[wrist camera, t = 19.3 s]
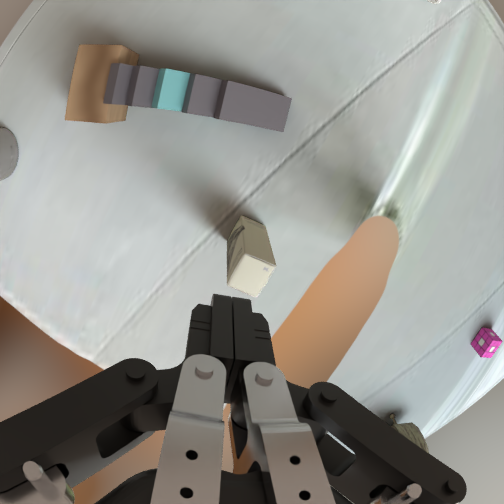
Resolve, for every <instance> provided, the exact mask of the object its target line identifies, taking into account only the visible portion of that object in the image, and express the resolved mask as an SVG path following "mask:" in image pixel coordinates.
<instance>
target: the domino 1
mask: <svg viewBox="0 0 504 504" xmlns="http://www.w3.org/2000/svg"><path fill="white" fill-rule="evenodd" d="M132 69H133V66H132V65H127V64H122V63H111V67H110V71H109V76H108V81H107V85H106V90H105V96H104V101H103V103H104V104H116V105H125V102H126V97H127V92H128V87H129V83H130V78H131V74H132Z"/></svg>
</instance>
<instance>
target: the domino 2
mask: <svg viewBox="0 0 504 504" xmlns="http://www.w3.org/2000/svg"><path fill="white" fill-rule="evenodd" d="M159 70H160V69H157V68H152V67H147V66H141V65H138V66H133V69H132V74H131V78H130V83H129V87H128V92H127V97H126V102H125V105H128V106H138V107H148V108H152V102H153V97H154V93H155V88H156V83H157V79H158V74H159Z"/></svg>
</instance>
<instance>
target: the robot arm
mask: <svg viewBox="0 0 504 504" xmlns="http://www.w3.org/2000/svg"><path fill="white" fill-rule="evenodd" d="M17 161H18V145H17V142H16V139H15V137H14V135H13V134H12V133H11V131H9V130H8V129H6V128H0V181H1V180H3V179H5V178H7V177H9V176H10V175H11V174H12V173H13V171H14V169H15V167H16V165H17ZM269 332H270V331H269V325H268V322H267V320H266V319H265V318H264V316H263V315H262V314H260V313H253V312H252V306H251V300H250V299H243V298H237V297H232V298H231V297H230V296H224V295H218V294H213V296H212V301H211V306H209V305H203V304H198V305H197V306H196V307H195V308H194V309H193V310H192V314H191V320H190V327H189V333H188V340H187V347H186V355H185V359H184V361H183V362H182V363H181V364H180V365H178V366H177V367H174V368H171V369H165V370H156V368H155V367H154V366H153V365H152V364H151V363H149V362H147V361H145V360H143V359H138V358H130V359H125V360H123V361H121V362H119V363H117V364H115V365H113V366H111V367H109V368H107V369H105V370H104V371H102V372H100V373H98V374H96V375H94V376H92V377H90V378H88V379H86V380H84V381H82V382H80V383H79V384H77V385H75V386H73V387H71V388H69V389H67V390H65V391H63V392H61V393H59V394H57V395H55V396H53V397H51V398H49V399H47V400H45V401H43V402H41V403H39V404H37V405H35V406H33V407H31V408H29V409H27V410H25V411H23V412H21V413H19V414H17V415H14V416H12V417H11V418H8V419H6V420H4V421H2V422H0V504H74V500H75V498H74V493H73V490H72V488H73V487H74V486H76V485H78V484H79V483H81V482H82V481H84V480H86V479H87V478H89V477H90V476H92V475H94V474H95V473H96V472H98V471H100V470H101V469H103V468H104V467H106V466H107V465H109V464H110V463H112V462H113V461H115V460H116V459H118V458H119V457H121V456H122V455H124V454H125V453H127V452H128V451H130V450H131V449H133V448H134V447H135V446H137V445H138V444H140V443H141V442H142V441H144V440H145V439H147V438H148V437H150V436H151V435H152V434H153V433H154V432H155V431H158V430H166V432H165V436H164V441H163V445H162V450H161V454H160V459H159V464H158V468H156V469H150V470H147V471H143V472H141V473H138V474H136V475H134V476H132V477H130V478H128V479H127V480H126V481H124V482H123V483H122V484H120V485H119V486H118V487H117V488H115V489H114V490H112V491H111V492H110V493H108V494H107V495H106V496H104V497H103V498H102V499H100V500H99V501H98V502H96V503H95V504H353V503H354V504H458V503H459V502H461V501H462V500H463V499H464V497H465V495H466V483H465V481H464V479H463V478H462V476H461V475H459V474H458V473H457V472H455V471H454V470H452V469H451V468H449V467H448V466H446V465H445V464H443V463H442V462H440V461H439V460H438V459H436V458H435V457H433V456H432V455H430V454H429V453H427V452H426V451H425V450H423V449H422V448H420V447H419V446H417V445H416V444H415V443H413V442H412V441H410V440H409V439H408V438H406V437H405V436H403V435H402V434H401V433H399V432H398V431H396V430H395V429H394V428H392V427H391V426H390V425H388V424H387V423H386V422H384V421H383V420H381V419H380V418H379V417H377V416H376V415H375V414H373V413H372V412H371V411H369V410H368V409H367V408H365V407H364V406H363V405H361V404H360V403H359V402H357V401H356V400H355V399H354V398H352V397H351V396H350V395H348V394H347V393H346V392H344V391H343V390H342V389H341V388H339V387H338V386H336V385H334V384H332V383H328V382H318V383H315V384H313V385H312V386H311V387H310V389H307V388H304V387H301V386H298V385H295V384H292V383H290V382H288V381H287V380H286V379H285V376H284V374H283V373H282V371H281V370H280V369H278V368H277V367H276V364H275V358H274V353H273V347H272V342H271V336H270V333H269ZM224 403H230V404H231V412H230V415H229V418H228V426H229V433H230V441H231V448H232V456H233V473H230V472H227V471H223V470H221V467H222V452H223V438H224V421H222V417H223V405H224ZM328 431H329V432H330V433H331V434H332V435H334V436H335V437H336V438H337V439H339V440H340V441H341V442H342V443H344V444H345V445H346V446H347V447H349V448H350V449H351V450H352V451H353V452H354V453H355V454H353V453H351V452H350V451H348V450H347V449H346V448H345V447H343V446H342V445H341V444H339V443H338V442H337V441H336V440H335V439H333V438H332V437H331V436H330V435H328V434H327V433H328ZM329 484H330V485H331V486H333V487H334V488H335V489H334V488H333V487H331V486H330V485H329ZM337 490H338V491H339V492H340V493H339V492H338V491H337ZM342 494H343V495H344V496H346V498H348V499H349V500H350V501H352V502H353V503H351V502H350V501H349V500H348V499H346V498H345V497H344V496H343V495H342Z"/></svg>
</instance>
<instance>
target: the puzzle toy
mask: <svg viewBox="0 0 504 504" xmlns="http://www.w3.org/2000/svg"><path fill="white" fill-rule="evenodd" d="M501 343H502V340H501V339H500V338H499V337H498V336H497V334H496V333H495V332H494V331H493V330H492V329H488V328H483V327H482V328H481V330H480V331H479V333H478V334H477V336H476V337H475V339H474V340H473V341H472V343H471V345H472V347H473V348H474V349H475V350H476V352H477V353H478V354H479V355H480V357H486V358H491V357H492V356H493V354H494V353H495V351H496V350H497V349H498V347H499V346H500V344H501Z"/></svg>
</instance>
